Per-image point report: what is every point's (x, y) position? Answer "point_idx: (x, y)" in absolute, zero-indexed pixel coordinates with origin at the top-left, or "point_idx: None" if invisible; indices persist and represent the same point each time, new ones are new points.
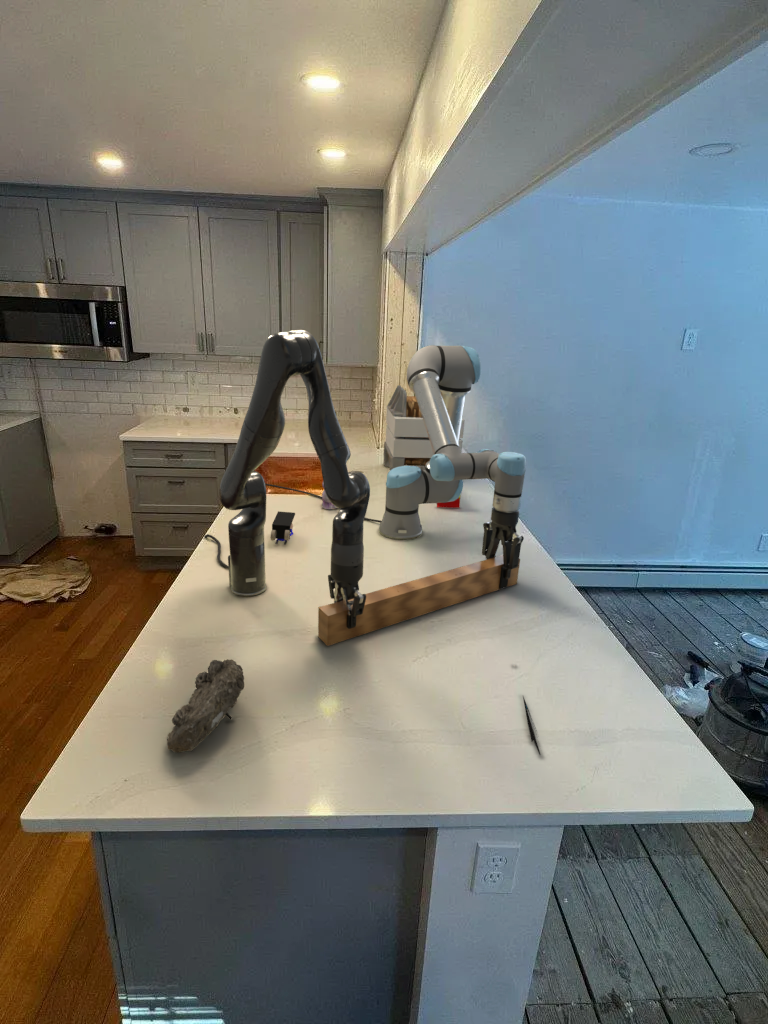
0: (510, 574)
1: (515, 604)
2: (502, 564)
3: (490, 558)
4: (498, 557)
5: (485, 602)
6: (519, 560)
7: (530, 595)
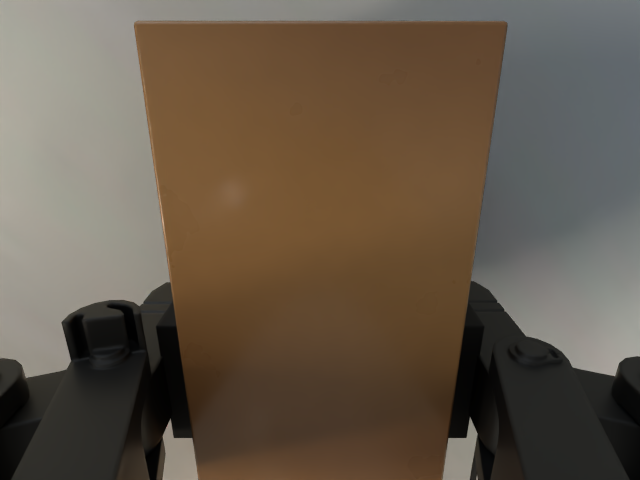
0: (501, 308)
1: (599, 330)
2: (444, 463)
3: (162, 422)
4: (220, 357)
5: (450, 455)
6: (495, 52)
7: (611, 123)
